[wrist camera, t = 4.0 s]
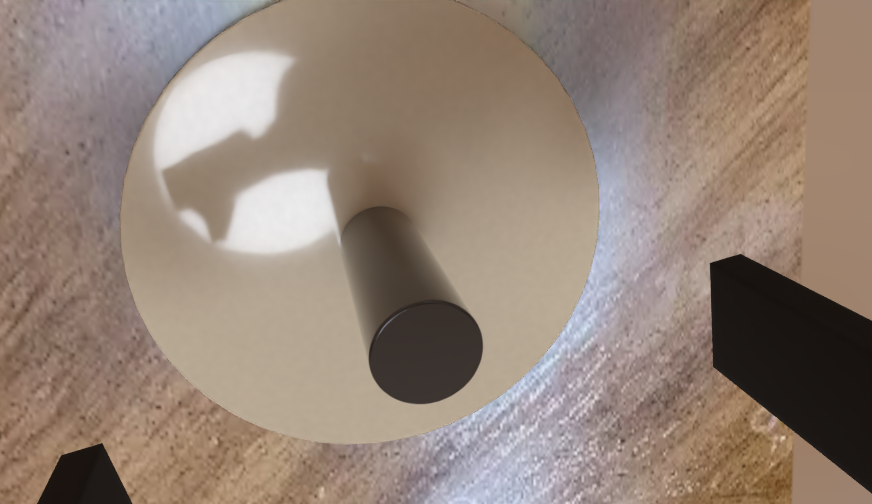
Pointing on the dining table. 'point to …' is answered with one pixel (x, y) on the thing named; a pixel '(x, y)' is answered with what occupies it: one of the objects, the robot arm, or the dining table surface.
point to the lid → (359, 217)
